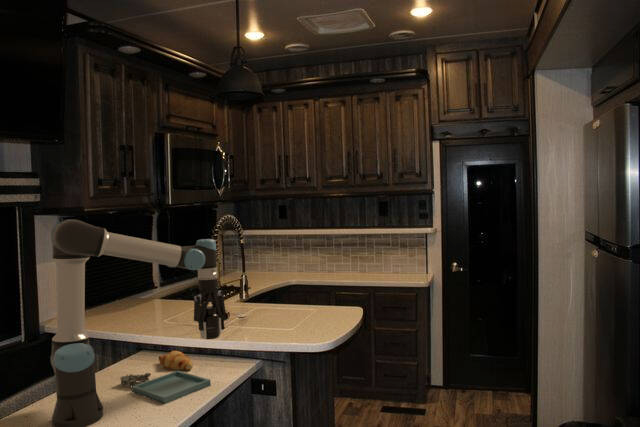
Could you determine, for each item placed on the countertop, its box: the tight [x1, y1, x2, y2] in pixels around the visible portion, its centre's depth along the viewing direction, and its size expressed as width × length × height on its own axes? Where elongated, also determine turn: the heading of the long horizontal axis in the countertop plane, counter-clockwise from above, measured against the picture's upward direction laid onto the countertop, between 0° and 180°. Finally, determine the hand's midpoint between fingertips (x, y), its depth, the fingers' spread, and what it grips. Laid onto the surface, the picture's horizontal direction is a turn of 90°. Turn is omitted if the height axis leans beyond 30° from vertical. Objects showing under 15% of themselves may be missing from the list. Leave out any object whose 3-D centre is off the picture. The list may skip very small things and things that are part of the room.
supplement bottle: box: [204, 305, 221, 340], centre depth 204 cm, size 7×7×12 cm
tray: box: [131, 370, 212, 405], centre depth 190 cm, size 20×20×2 cm
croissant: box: [158, 350, 194, 371], centre depth 217 cm, size 21×10×8 cm, turn 54°
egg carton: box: [118, 372, 152, 388], centre depth 197 cm, size 11×8×4 cm
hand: (211, 335), depth 204 cm, fingers closed on supplement bottle, 7 cm apart
